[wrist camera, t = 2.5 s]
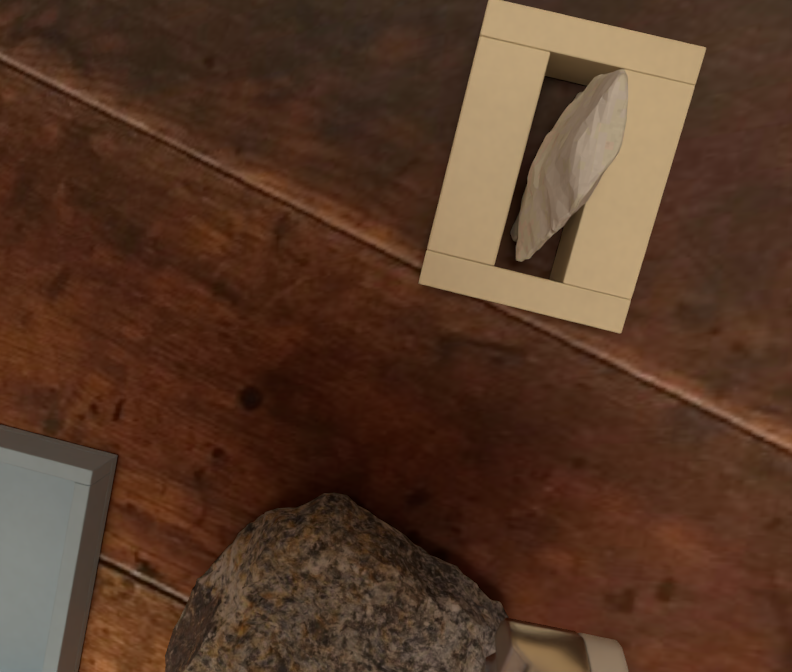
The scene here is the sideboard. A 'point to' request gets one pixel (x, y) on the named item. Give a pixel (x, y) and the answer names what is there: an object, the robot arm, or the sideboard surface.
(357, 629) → the rock
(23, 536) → the tray
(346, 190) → the sideboard surface
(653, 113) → the holder
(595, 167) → the arrowhead
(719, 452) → the sideboard surface
